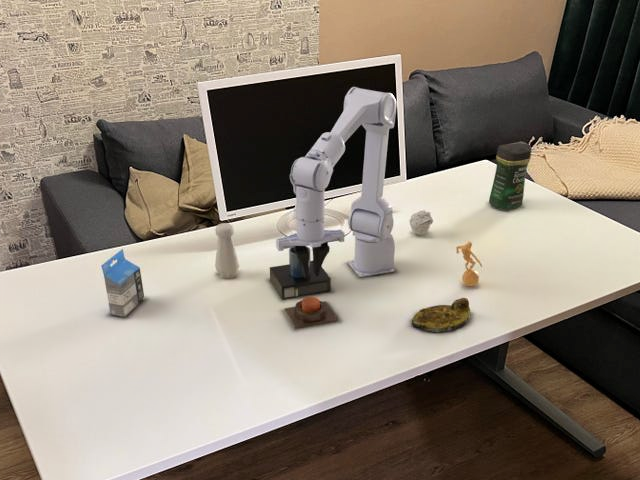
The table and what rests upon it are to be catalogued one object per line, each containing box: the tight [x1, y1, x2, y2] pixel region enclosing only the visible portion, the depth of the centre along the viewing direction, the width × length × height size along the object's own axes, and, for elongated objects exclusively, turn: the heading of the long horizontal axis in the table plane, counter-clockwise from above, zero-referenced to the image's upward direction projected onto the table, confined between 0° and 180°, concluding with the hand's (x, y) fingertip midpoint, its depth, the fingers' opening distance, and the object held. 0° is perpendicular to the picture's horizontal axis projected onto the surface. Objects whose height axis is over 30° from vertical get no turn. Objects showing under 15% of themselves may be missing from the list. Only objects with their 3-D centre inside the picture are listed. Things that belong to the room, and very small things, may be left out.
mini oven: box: [269, 260, 332, 301], centre depth 174 cm, size 12×11×4 cm
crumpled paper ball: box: [409, 209, 434, 236], centre depth 198 cm, size 6×7×7 cm
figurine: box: [456, 241, 483, 287], centre depth 173 cm, size 8×6×12 cm
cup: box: [288, 246, 311, 278], centre depth 171 cm, size 5×5×6 cm
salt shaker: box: [214, 222, 240, 279], centre depth 175 cm, size 6×6×13 cm
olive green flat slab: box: [411, 297, 471, 333], centre depth 162 cm, size 9×5×15 cm
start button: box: [301, 296, 321, 312], centre depth 162 cm, size 4×4×2 cm
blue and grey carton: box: [101, 248, 145, 318], centre depth 162 cm, size 9×4×12 cm, turn 163°
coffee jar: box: [488, 141, 532, 211], centre depth 212 cm, size 10×8×19 cm
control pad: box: [283, 299, 339, 330], centre depth 163 cm, size 10×8×2 cm
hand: (310, 275), depth 158 cm, fingers closed
